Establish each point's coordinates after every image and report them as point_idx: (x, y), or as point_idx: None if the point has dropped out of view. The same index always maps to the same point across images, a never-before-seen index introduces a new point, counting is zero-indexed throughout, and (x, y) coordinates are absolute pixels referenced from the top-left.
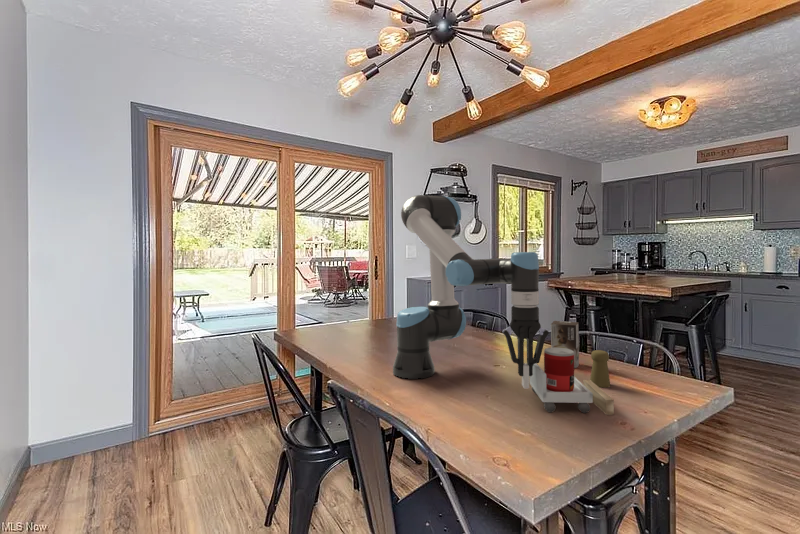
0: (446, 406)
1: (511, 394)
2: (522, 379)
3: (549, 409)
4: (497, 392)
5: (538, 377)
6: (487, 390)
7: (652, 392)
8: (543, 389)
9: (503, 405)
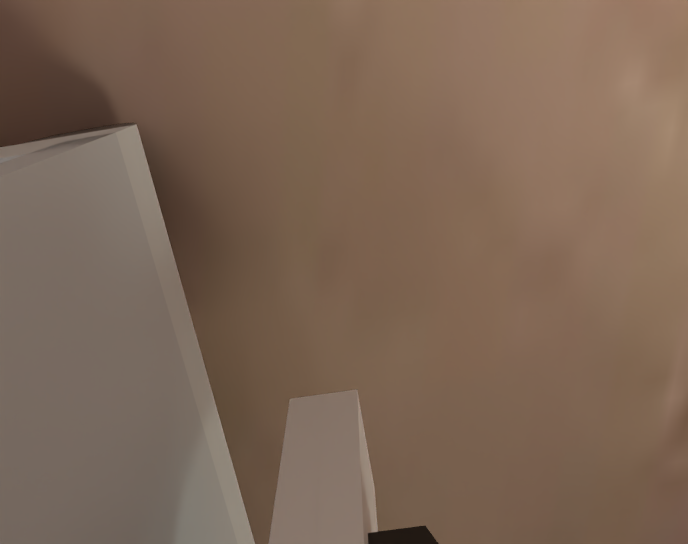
0: None
1: (451, 493)
2: (372, 521)
3: (92, 129)
4: (574, 514)
5: (101, 460)
6: (659, 540)
7: None
8: (47, 154)
9: (562, 223)
